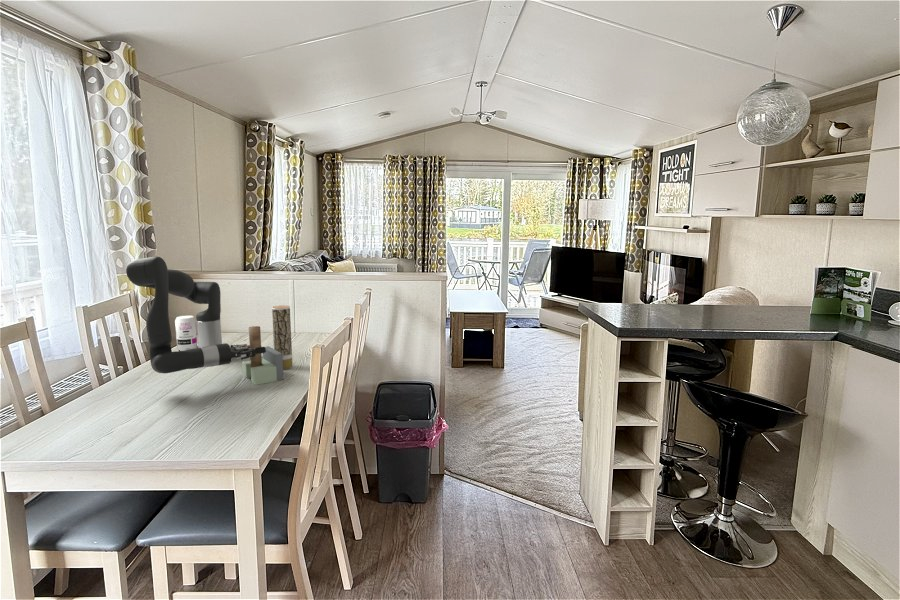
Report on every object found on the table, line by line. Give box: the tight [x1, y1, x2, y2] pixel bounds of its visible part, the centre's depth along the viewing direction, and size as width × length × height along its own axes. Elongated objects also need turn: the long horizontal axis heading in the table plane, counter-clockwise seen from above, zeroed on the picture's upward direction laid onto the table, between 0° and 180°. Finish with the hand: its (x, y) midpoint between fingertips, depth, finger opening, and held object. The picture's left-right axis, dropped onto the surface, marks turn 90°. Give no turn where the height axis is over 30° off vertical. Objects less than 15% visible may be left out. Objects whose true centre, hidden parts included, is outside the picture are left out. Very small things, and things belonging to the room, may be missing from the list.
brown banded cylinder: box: [248, 325, 263, 368], centre depth 199 cm, size 4×4×18 cm
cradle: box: [241, 357, 277, 386], centre depth 201 cm, size 14×8×6 cm, turn 39°
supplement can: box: [174, 315, 198, 351], centre depth 241 cm, size 8×8×15 cm
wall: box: [262, 345, 284, 382], centre depth 204 cm, size 14×2×10 cm, turn 39°
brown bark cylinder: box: [271, 304, 293, 370], centre depth 213 cm, size 7×7×25 cm
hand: (262, 348), depth 201 cm, fingers closed on brown banded cylinder, 4 cm apart
